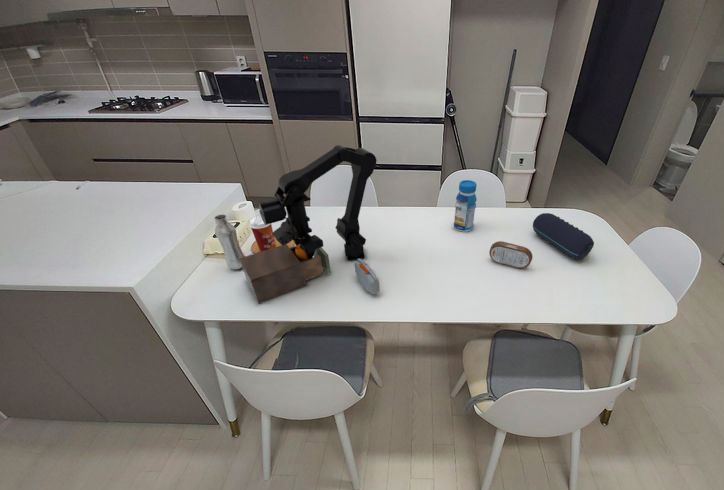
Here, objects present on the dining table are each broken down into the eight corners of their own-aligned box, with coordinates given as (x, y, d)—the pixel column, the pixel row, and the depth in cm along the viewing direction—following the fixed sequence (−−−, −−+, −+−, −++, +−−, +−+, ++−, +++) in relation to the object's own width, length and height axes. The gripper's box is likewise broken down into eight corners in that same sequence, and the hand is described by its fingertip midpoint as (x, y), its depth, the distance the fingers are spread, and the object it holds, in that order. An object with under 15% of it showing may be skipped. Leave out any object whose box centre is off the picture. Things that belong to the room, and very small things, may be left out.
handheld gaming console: (381, 296, 113) (379, 277, 109) (373, 299, 112) (371, 280, 107) (361, 273, 123) (359, 254, 118) (354, 275, 122) (351, 257, 117)
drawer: (320, 255, 130) (316, 237, 126) (334, 271, 122) (331, 253, 118) (278, 269, 123) (273, 251, 118) (290, 288, 115) (285, 269, 110)
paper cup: (273, 259, 130) (263, 226, 121) (254, 256, 131) (243, 224, 122) (283, 247, 136) (275, 215, 127) (265, 245, 137) (255, 213, 129)
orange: (316, 242, 121) (301, 235, 116) (319, 256, 118) (304, 249, 113) (304, 252, 123) (289, 245, 118) (307, 266, 120) (291, 260, 115)
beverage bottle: (474, 232, 146) (480, 187, 134) (454, 232, 146) (458, 187, 134) (471, 222, 152) (477, 178, 140) (452, 222, 153) (456, 178, 141)
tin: (530, 267, 126) (535, 248, 121) (528, 272, 124) (533, 252, 119) (489, 257, 131) (492, 238, 126) (487, 261, 129) (490, 242, 124)
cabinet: (291, 266, 126) (286, 243, 121) (306, 285, 117) (300, 262, 112) (247, 281, 119) (239, 258, 113) (258, 303, 110) (250, 280, 104)
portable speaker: (593, 259, 130) (602, 236, 125) (574, 266, 127) (582, 243, 121) (545, 228, 148) (551, 207, 143) (527, 234, 145) (532, 212, 139)
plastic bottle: (236, 273, 122) (217, 224, 110) (224, 267, 125) (205, 218, 113) (251, 264, 127) (235, 215, 115) (239, 259, 130) (222, 210, 118)
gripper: (260, 212, 111) (271, 252, 121) (286, 235, 100) (296, 278, 110) (292, 202, 117) (301, 241, 127) (320, 223, 106) (327, 264, 115)
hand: (305, 255), depth 119 cm, fingers closed on orange, 6 cm apart
